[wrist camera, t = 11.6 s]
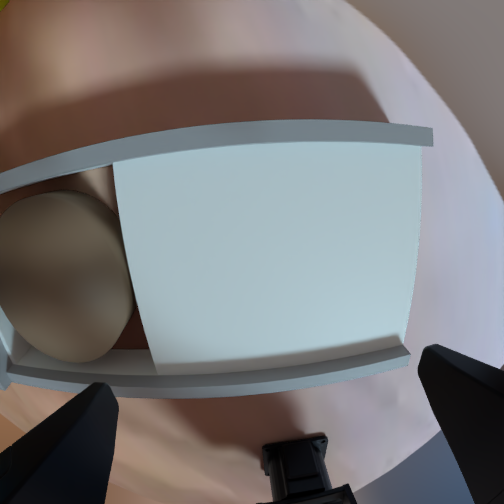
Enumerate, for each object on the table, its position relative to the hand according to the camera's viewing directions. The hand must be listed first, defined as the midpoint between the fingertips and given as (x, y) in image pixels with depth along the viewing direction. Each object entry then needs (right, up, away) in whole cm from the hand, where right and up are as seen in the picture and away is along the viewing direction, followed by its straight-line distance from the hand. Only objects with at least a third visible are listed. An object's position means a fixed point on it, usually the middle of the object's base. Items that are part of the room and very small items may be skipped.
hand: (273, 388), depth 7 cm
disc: (-13, +2, +11) cm, 17 cm away
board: (-6, +3, +11) cm, 13 cm away
